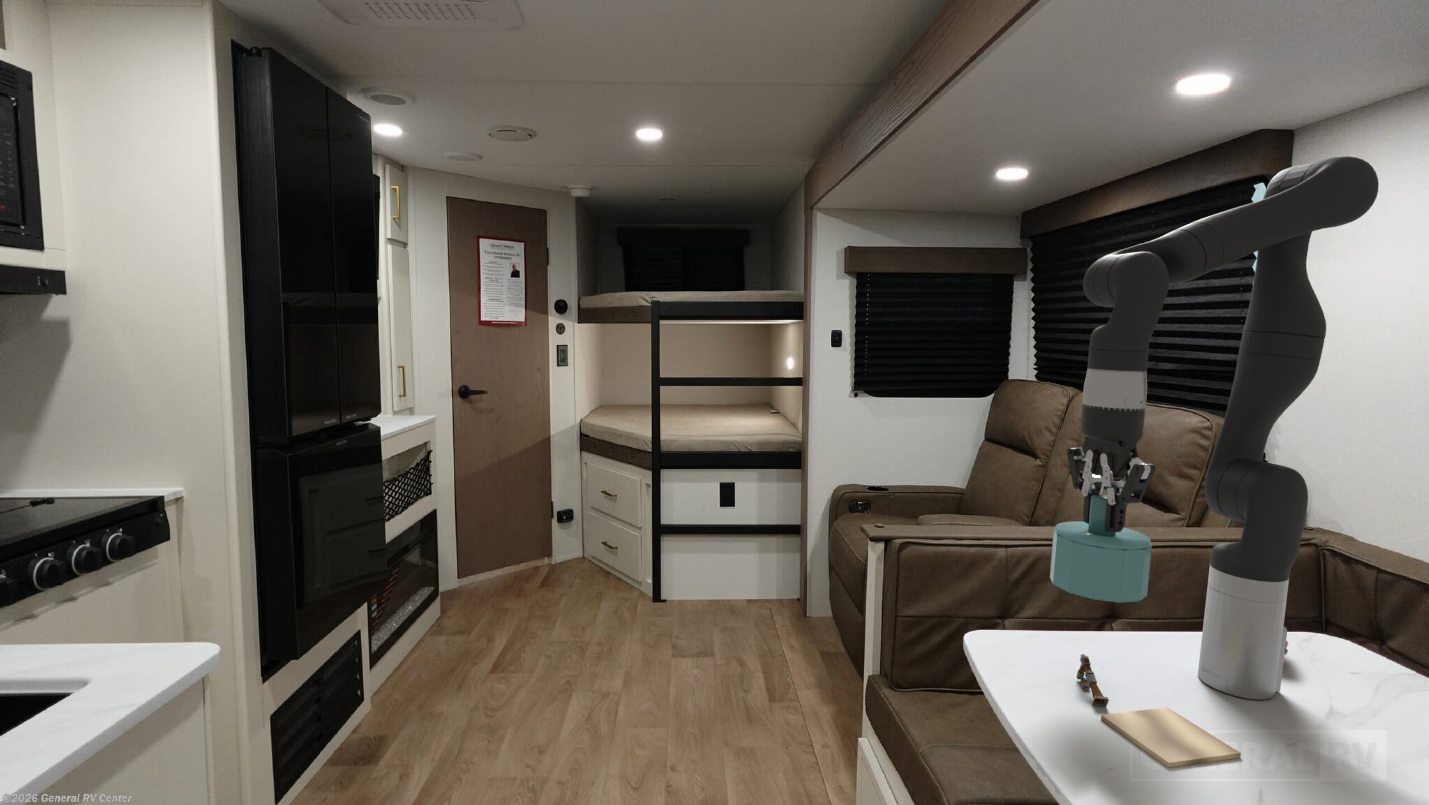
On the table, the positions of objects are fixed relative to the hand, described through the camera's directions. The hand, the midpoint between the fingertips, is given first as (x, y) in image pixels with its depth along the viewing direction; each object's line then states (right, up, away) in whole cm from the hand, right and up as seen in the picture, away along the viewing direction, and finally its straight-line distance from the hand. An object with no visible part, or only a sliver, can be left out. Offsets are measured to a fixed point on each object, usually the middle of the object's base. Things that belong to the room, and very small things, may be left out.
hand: (1102, 526), depth 99 cm
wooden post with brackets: (-1, -24, +2) cm, 25 cm away
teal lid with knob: (0, -8, +1) cm, 8 cm away
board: (+4, -25, -8) cm, 27 cm away
